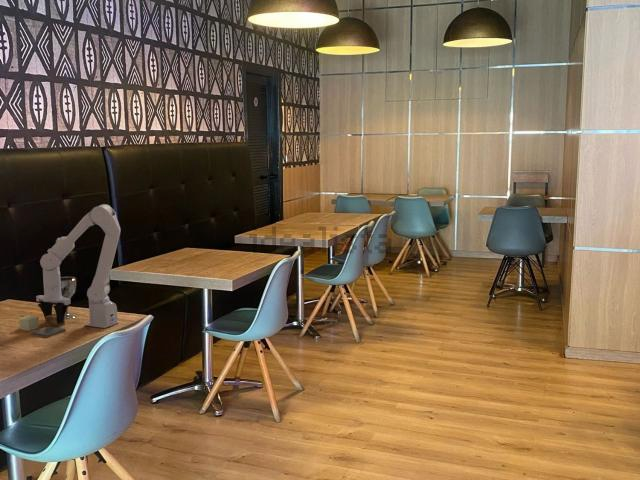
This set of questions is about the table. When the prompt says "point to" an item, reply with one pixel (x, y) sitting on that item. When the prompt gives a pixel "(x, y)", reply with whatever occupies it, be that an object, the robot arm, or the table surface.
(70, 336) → the table surface
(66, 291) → the wine glass
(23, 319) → the sage cube
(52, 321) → the walnut block
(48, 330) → the slate board
